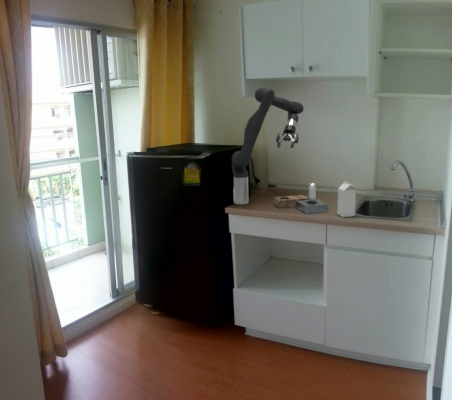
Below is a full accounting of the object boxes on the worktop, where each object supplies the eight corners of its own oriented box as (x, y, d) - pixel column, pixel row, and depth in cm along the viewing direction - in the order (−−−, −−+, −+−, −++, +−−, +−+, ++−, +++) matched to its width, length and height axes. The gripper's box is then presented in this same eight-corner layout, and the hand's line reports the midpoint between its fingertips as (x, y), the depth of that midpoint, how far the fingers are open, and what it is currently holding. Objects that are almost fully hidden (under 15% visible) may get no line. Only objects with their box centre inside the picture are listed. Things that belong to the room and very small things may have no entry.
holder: (305, 213, 236) (305, 206, 235) (296, 208, 250) (296, 200, 249) (328, 211, 239) (328, 204, 238) (317, 206, 252) (317, 199, 251)
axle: (310, 211, 242) (310, 184, 238) (307, 209, 246) (307, 183, 242) (316, 210, 243) (317, 183, 239) (313, 208, 247) (314, 182, 243)
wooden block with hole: (279, 208, 249) (279, 200, 248) (274, 204, 259) (273, 197, 258) (310, 206, 253) (310, 198, 252) (303, 202, 263) (303, 194, 262)
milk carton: (343, 217, 227) (344, 183, 222) (337, 214, 233) (338, 181, 229) (354, 216, 228) (356, 182, 224) (348, 213, 235) (350, 180, 231)
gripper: (278, 124, 271) (272, 143, 264) (299, 124, 265) (294, 143, 258) (281, 131, 277) (275, 150, 270) (302, 131, 271) (296, 151, 264)
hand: (284, 147), depth 264 cm, fingers open, 8 cm apart
